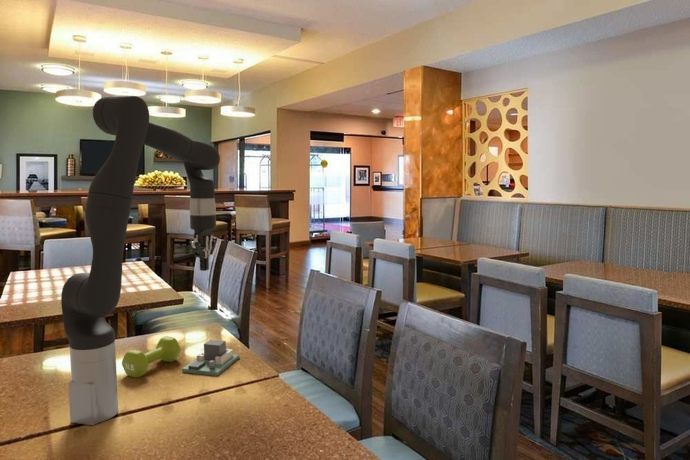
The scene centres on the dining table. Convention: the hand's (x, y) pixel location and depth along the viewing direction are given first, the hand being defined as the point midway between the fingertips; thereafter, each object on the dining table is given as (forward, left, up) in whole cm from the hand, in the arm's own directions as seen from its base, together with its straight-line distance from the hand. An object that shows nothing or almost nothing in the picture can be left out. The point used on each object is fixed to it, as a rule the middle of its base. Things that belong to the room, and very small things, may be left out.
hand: (204, 270), depth 147 cm
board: (-6, -5, -27) cm, 28 cm away
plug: (-4, -5, -26) cm, 27 cm away
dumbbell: (-12, +11, -27) cm, 32 cm away
